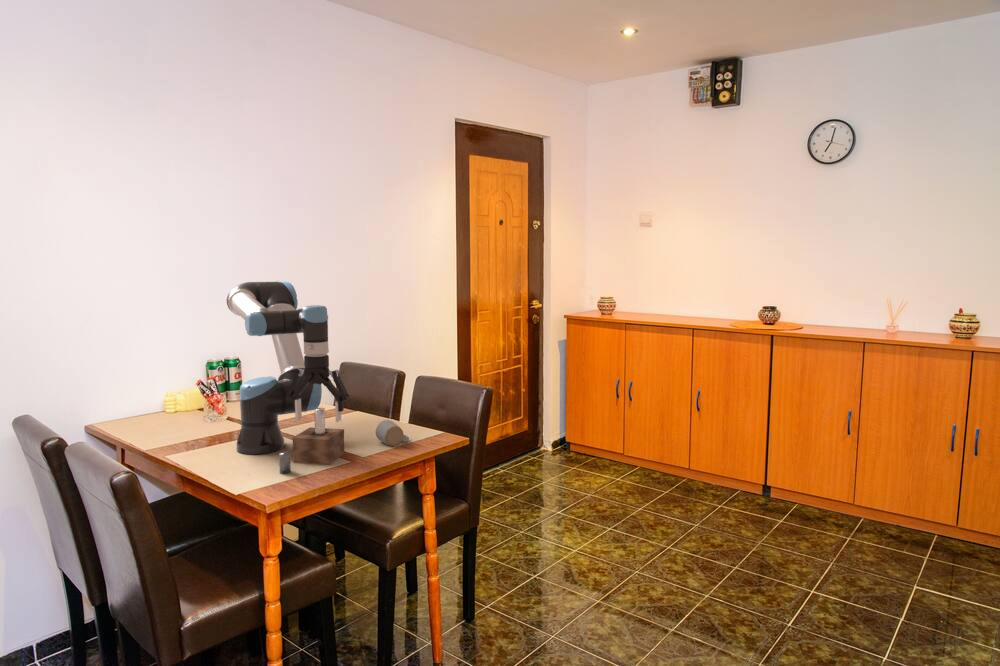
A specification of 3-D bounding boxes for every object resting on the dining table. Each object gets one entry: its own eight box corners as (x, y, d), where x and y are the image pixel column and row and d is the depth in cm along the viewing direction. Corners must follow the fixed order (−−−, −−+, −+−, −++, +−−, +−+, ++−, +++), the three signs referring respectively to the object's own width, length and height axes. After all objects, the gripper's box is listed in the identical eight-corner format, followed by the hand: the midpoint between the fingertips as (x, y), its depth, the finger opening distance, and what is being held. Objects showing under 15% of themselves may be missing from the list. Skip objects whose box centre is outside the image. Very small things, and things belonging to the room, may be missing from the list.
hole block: (293, 462, 211) (292, 437, 210) (310, 450, 222) (309, 427, 221) (329, 464, 209) (328, 439, 208) (344, 452, 220) (344, 429, 219)
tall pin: (313, 458, 214) (312, 409, 212) (317, 455, 217) (317, 407, 215) (322, 459, 214) (322, 410, 211) (327, 456, 217) (326, 408, 215)
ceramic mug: (385, 448, 225) (385, 426, 224) (375, 442, 232) (375, 421, 231) (413, 443, 231) (413, 422, 230) (402, 438, 238) (402, 417, 237)
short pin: (277, 473, 200) (276, 454, 199) (283, 470, 203) (282, 451, 203) (287, 474, 200) (286, 455, 199) (292, 470, 203) (292, 451, 202)
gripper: (273, 355, 210) (276, 421, 212) (349, 357, 205) (350, 425, 208) (285, 351, 217) (287, 415, 220) (358, 354, 213) (359, 419, 215)
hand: (318, 420), depth 214 cm, fingers open, 13 cm apart
